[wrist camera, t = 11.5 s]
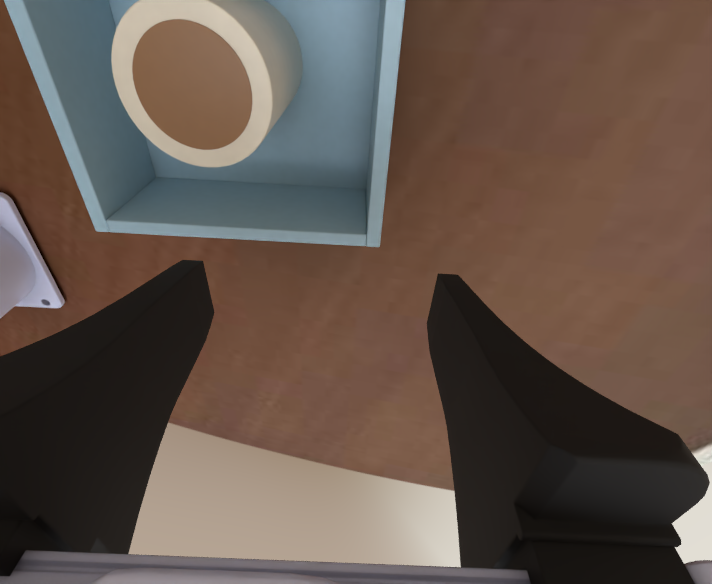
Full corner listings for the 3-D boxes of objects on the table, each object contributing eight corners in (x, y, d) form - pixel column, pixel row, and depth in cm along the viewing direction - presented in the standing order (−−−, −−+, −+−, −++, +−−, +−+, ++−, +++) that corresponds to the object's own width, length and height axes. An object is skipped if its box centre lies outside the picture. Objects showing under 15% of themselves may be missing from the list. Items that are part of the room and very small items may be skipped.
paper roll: (206, 113, 18) (136, 164, 13) (186, -10, 15) (84, -16, 10) (304, 119, 18) (277, 172, 13) (301, -2, 15) (265, -4, 10)
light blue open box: (151, 183, 21) (95, 231, 16) (58, -154, 13) (-89, -228, 9) (376, 196, 21) (379, 247, 17) (405, -128, 14) (425, -189, 9)
